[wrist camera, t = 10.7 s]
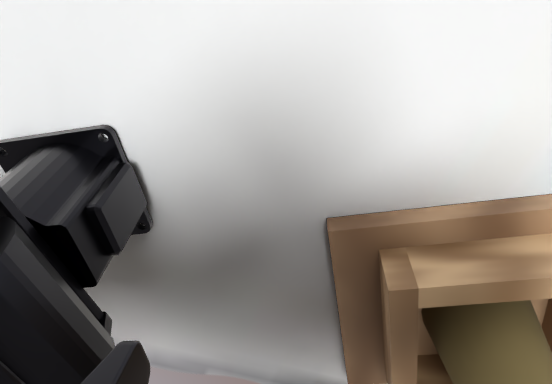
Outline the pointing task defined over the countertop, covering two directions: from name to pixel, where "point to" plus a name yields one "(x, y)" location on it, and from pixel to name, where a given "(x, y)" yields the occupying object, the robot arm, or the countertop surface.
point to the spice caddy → (433, 278)
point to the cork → (490, 343)
